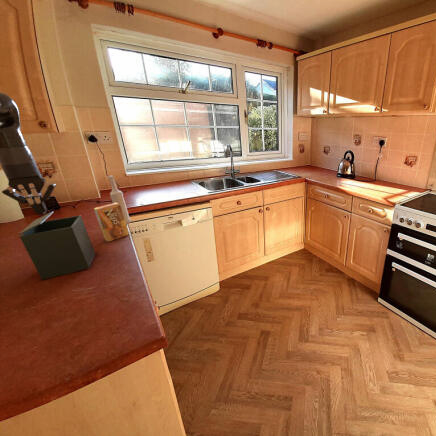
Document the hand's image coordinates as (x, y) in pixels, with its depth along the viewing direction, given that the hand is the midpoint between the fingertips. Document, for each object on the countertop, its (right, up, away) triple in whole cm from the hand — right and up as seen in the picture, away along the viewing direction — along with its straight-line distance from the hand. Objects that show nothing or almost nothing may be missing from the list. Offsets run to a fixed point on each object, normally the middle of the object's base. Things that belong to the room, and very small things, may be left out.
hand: (41, 213), depth 82 cm
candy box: (+4, -11, +30) cm, 32 cm away
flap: (-2, -3, 0) cm, 3 cm away
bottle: (-3, -4, +45) cm, 46 cm away
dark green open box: (+2, -19, +9) cm, 21 cm away
